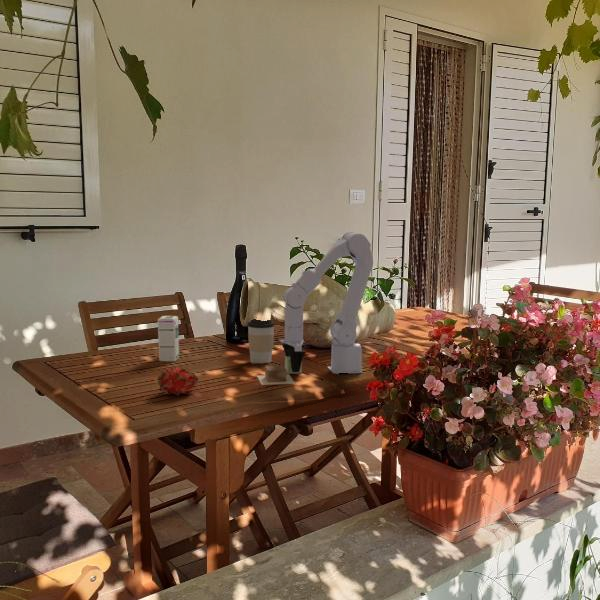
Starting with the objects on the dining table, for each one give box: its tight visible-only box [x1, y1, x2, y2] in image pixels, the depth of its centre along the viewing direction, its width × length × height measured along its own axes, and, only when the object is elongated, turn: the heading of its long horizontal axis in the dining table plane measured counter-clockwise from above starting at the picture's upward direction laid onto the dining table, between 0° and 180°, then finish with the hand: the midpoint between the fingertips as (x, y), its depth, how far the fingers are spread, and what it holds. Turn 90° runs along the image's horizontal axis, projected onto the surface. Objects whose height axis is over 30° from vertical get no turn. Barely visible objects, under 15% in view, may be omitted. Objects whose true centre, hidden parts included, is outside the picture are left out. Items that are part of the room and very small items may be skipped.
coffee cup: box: [247, 319, 276, 364], centre depth 217 cm, size 9×9×15 cm
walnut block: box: [264, 365, 287, 382], centre depth 195 cm, size 6×6×4 cm
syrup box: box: [157, 315, 180, 362], centre depth 218 cm, size 6×6×14 cm
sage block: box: [284, 355, 303, 375], centre depth 205 cm, size 4×4×5 cm
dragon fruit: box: [156, 366, 199, 397], centre depth 181 cm, size 8×8×12 cm
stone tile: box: [256, 373, 296, 386], centre depth 196 cm, size 10×10×1 cm
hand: (293, 368), depth 205 cm, fingers open, 7 cm apart
